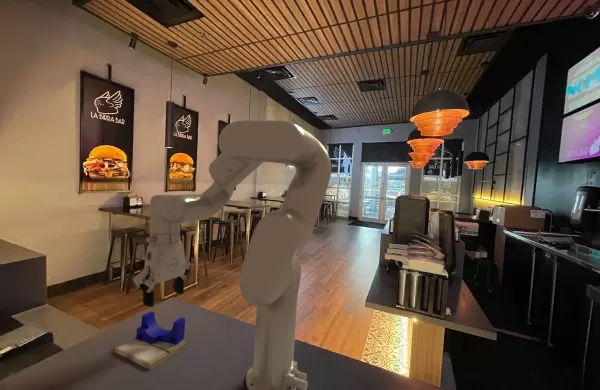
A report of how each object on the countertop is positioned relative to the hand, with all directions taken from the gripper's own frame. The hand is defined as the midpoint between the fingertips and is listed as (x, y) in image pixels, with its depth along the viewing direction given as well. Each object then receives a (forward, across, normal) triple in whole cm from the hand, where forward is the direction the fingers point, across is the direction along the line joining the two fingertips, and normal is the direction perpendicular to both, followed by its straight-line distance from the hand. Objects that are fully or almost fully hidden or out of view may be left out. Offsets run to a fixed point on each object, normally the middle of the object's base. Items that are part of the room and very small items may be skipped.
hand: (164, 299), depth 74 cm
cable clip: (+12, 0, +1) cm, 12 cm away
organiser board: (+13, -3, +1) cm, 13 cm away
